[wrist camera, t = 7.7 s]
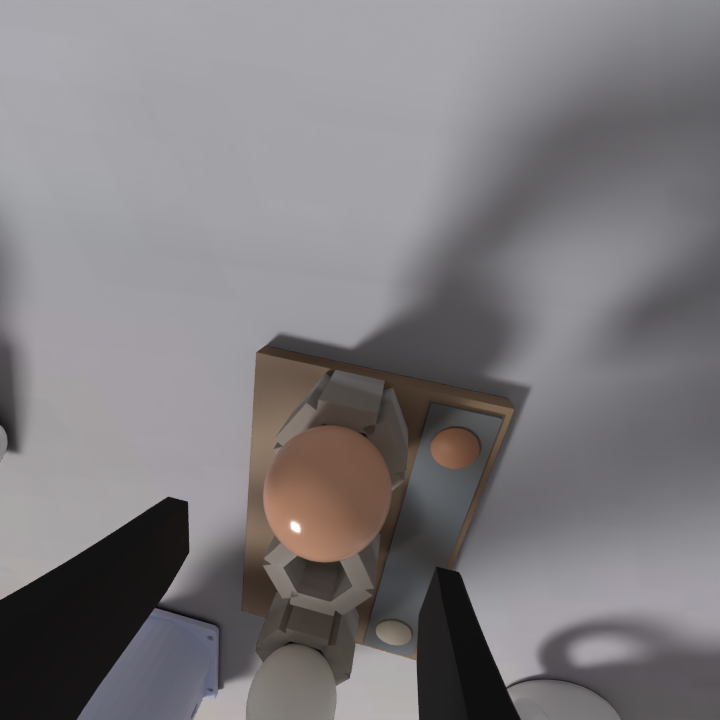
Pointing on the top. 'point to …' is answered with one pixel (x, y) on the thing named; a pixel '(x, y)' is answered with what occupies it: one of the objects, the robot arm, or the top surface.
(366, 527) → the terracotta ball
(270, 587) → the brown egg holder tray
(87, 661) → the robot arm
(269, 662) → the cream ball
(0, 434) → the spread jar
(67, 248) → the top surface
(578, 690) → the mug
